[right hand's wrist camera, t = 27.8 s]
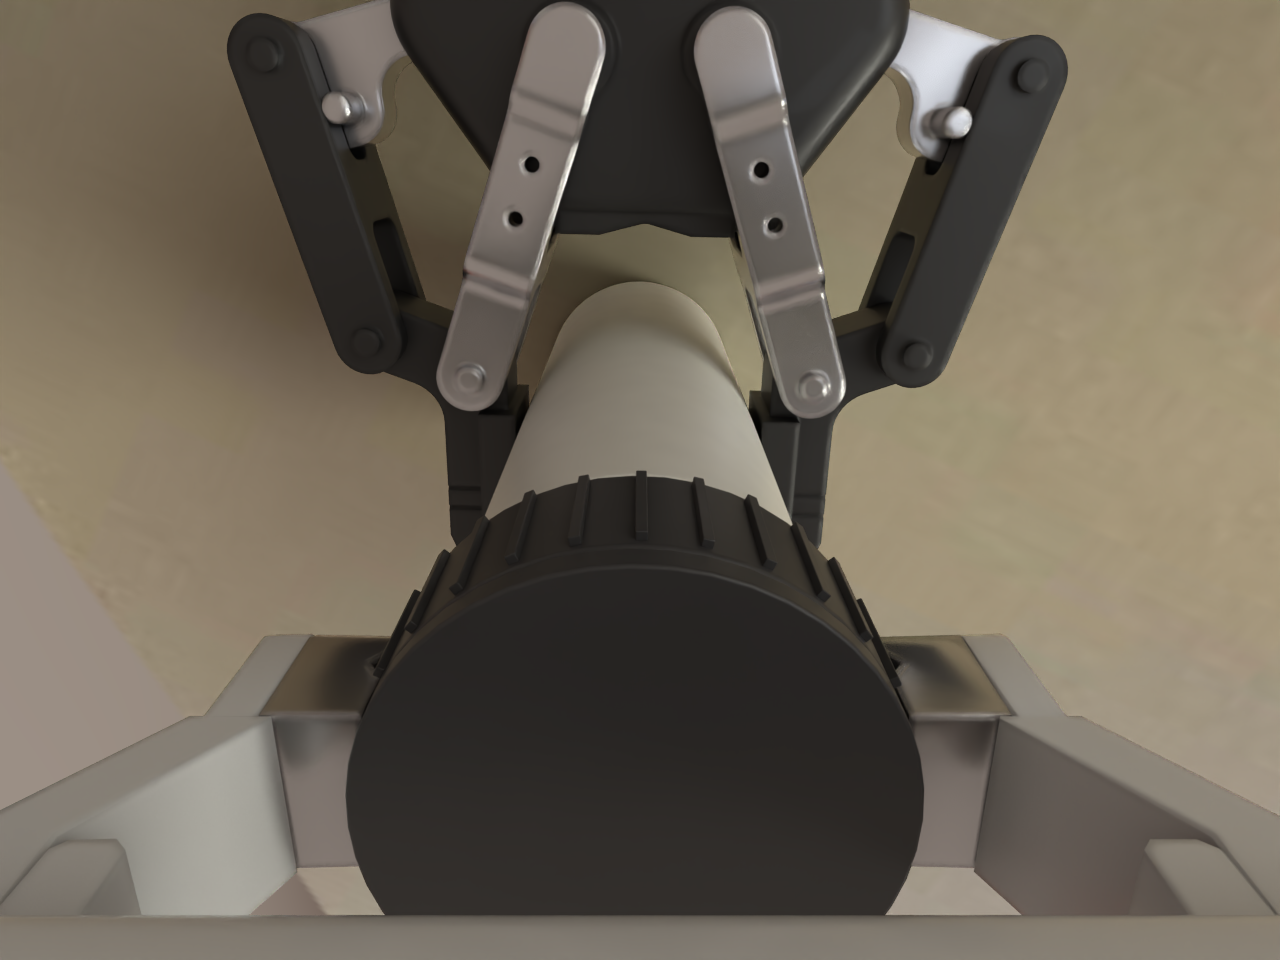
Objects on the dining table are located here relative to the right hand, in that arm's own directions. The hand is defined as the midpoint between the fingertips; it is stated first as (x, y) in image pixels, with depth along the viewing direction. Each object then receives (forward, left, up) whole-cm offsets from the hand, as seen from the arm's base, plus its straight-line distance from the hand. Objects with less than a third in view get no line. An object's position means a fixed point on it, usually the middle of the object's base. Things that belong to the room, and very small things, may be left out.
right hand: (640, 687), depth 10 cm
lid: (0, 0, +2) cm, 2 cm away
